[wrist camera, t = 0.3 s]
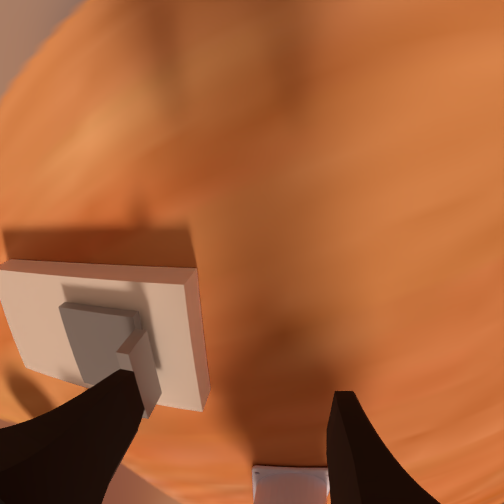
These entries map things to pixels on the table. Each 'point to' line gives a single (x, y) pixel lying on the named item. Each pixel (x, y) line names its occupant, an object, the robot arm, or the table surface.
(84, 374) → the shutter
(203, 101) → the table surface
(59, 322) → the socket plate
